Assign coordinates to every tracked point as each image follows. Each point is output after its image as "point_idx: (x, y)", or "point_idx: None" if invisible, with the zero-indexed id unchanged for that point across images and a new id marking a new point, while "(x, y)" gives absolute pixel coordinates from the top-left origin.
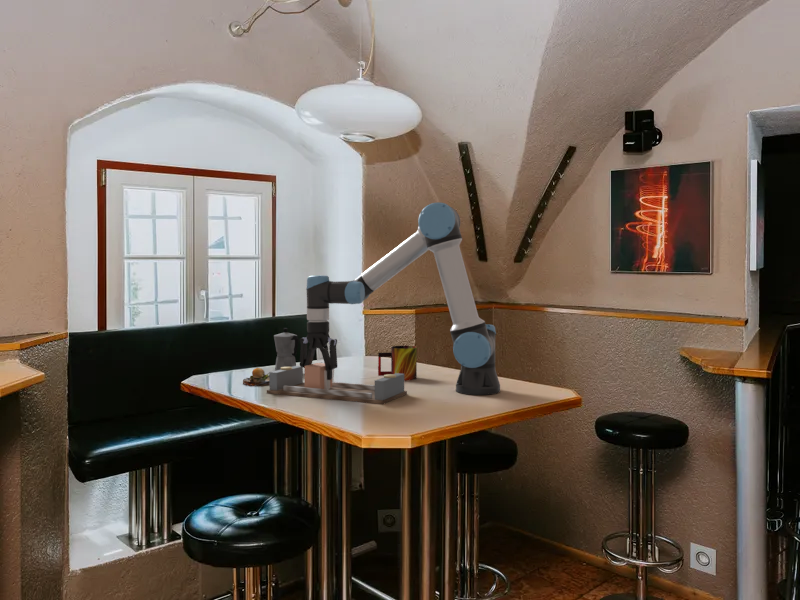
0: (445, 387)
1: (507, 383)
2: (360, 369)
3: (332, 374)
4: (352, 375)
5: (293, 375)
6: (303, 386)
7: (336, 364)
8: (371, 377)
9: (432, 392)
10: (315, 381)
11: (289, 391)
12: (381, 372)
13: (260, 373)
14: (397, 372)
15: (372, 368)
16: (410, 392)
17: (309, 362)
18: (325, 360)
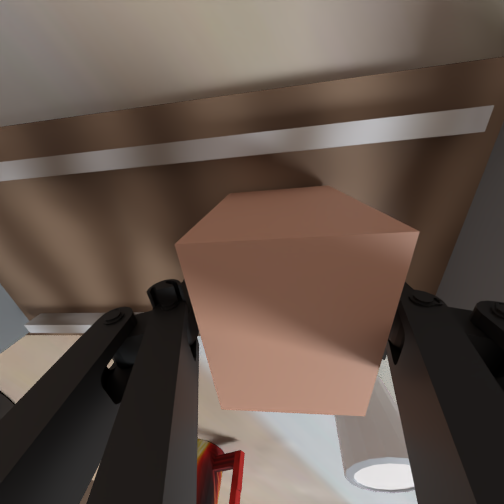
0: None
1: None
2: (346, 493)
3: (336, 416)
4: (327, 454)
5: (501, 299)
6: None
7: (106, 369)
8: (267, 447)
9: (9, 363)
10: (252, 200)
11: (405, 100)
12: (232, 463)
13: None
14: None
15: (325, 499)
16: (41, 347)
17: (410, 358)
18: (151, 381)
